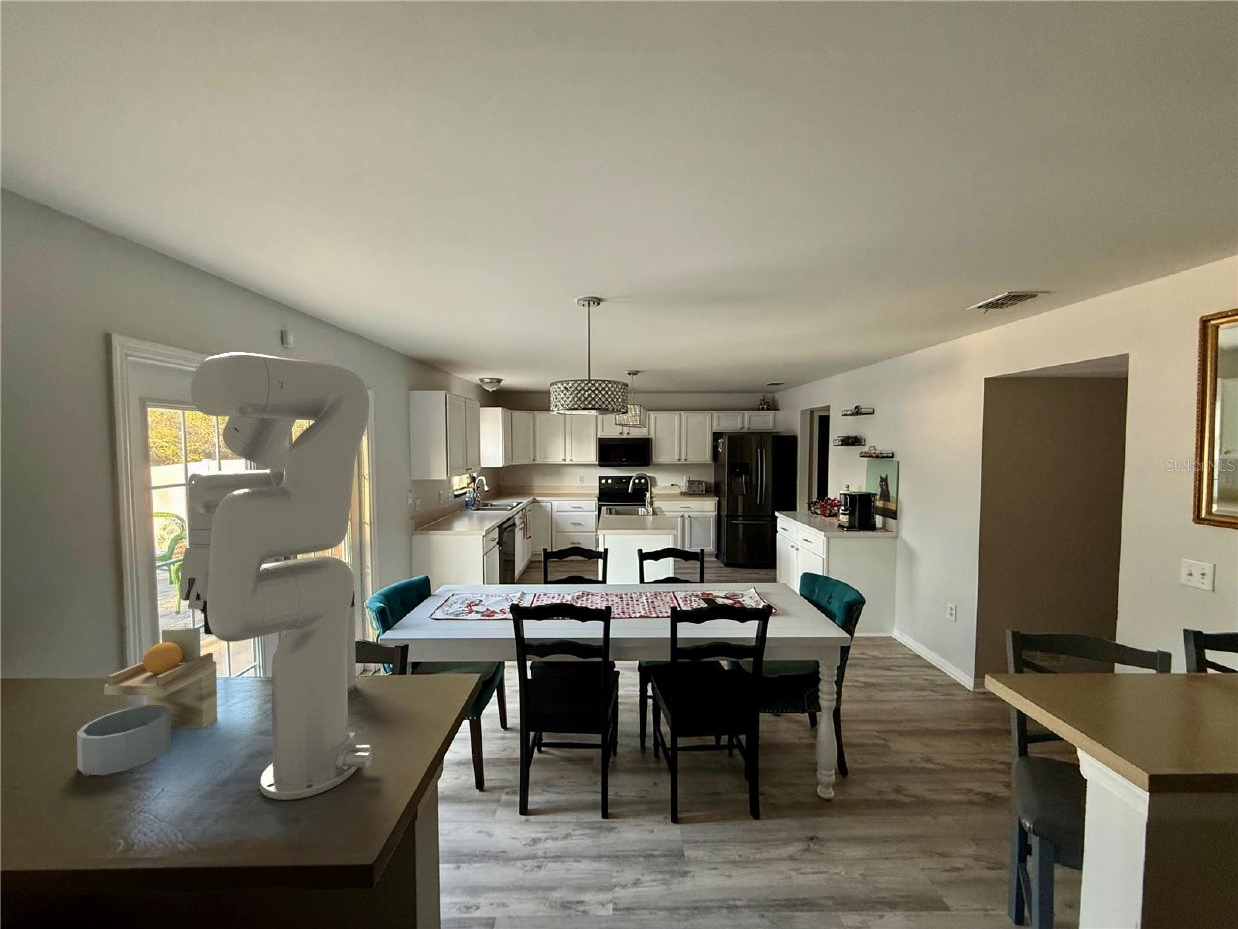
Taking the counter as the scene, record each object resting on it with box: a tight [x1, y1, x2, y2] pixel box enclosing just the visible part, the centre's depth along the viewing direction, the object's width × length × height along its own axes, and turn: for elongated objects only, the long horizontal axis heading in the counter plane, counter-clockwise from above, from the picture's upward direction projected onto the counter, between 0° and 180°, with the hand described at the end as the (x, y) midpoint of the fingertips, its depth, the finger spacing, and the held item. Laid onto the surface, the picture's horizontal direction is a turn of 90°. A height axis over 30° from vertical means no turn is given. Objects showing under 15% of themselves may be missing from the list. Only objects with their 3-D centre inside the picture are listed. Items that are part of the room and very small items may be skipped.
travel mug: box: [347, 590, 357, 694], centre depth 104 cm, size 6×7×20 cm
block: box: [161, 627, 202, 663], centre depth 92 cm, size 6×2×6 cm, turn 88°
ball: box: [142, 642, 182, 674], centre depth 88 cm, size 5×5×5 cm
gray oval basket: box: [76, 704, 172, 776], centre depth 81 cm, size 10×10×6 cm
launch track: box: [103, 652, 218, 729], centre depth 88 cm, size 10×10×12 cm
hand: (215, 633), depth 99 cm, fingers closed
